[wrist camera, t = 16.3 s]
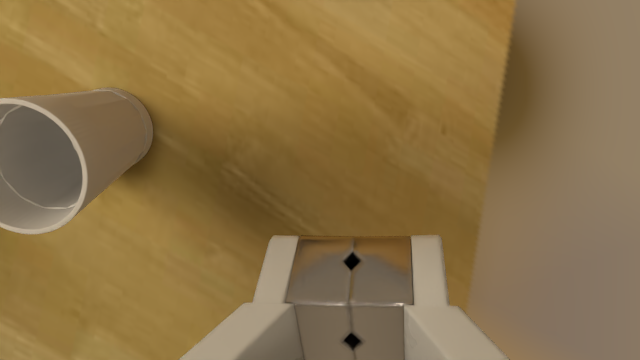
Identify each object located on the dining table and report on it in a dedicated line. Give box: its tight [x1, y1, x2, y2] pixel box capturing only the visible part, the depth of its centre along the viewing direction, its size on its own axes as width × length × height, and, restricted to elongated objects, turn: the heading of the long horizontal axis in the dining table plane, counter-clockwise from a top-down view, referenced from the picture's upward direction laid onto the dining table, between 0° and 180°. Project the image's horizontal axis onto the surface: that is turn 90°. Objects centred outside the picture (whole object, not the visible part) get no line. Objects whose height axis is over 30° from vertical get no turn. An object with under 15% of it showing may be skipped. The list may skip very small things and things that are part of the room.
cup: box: [0, 88, 153, 234], centre depth 36 cm, size 8×8×12 cm
